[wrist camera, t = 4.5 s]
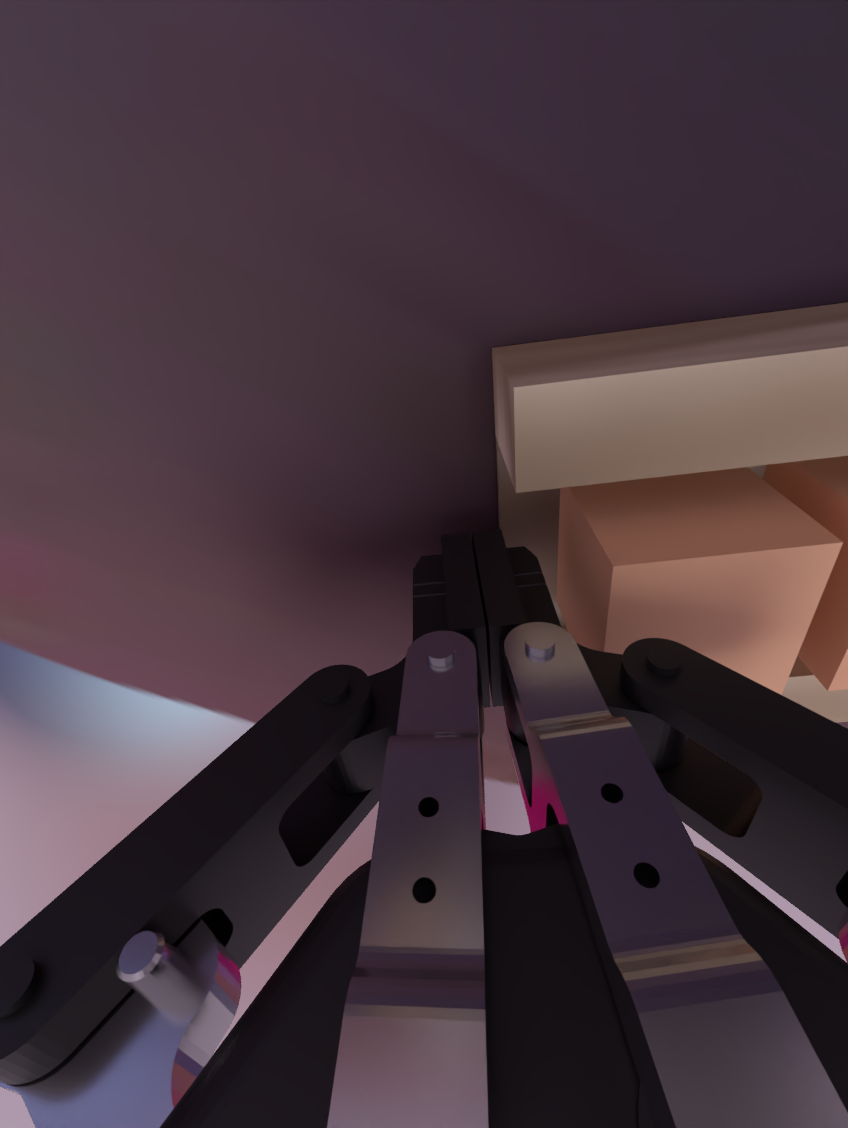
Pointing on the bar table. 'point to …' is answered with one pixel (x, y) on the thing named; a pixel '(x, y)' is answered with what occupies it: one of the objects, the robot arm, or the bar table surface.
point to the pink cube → (693, 568)
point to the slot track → (668, 419)
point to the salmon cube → (844, 614)
